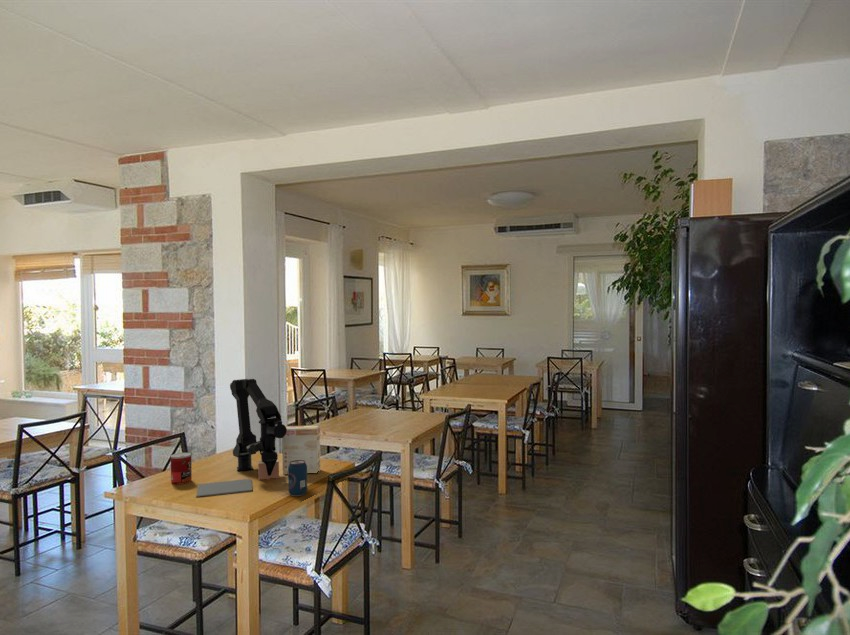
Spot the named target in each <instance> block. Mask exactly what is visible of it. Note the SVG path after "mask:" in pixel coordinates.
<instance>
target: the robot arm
mask: <svg viewBox="0 0 850 635" xmlns="http://www.w3.org/2000/svg"><path fill="white" fill-rule="evenodd" d="M229 388H230V391H231V395H232V397H233V398H234V399H235V402H236V410H237V422H238V432H239V433H238V435H237V437H236V438H235V439H236V440H235V441H236V443H235V446H234V448H233V449H232V456H233V457H235V458H237V466H236V472H243V471H252V470H253V465H252V456H253V455H256V454H257V452H259V454H260V458H261V461H262V462H264V463H265V464H266V469H267V473H268V476H270V475H271V473H272V471H273V468H274V466H275V463H276V461H277V460H279V459H278V452H277V448H276V440H277V439H282V438H283V437H284V436H285V435H286V432H287V429H286V425H285V424H283V421H282V415H281V413H280V412H279V409H278V407H277V405H276V404H275V403H274V402H273V401H272V400H269V399H268V398H267V397H266V396H265V395H264V393H263V391H262V389H261V388H260V386H259V385H258V383H257V380H256V379H255V378H244V379H243V378H242V379H241V378H239V379H233V380H232V381H231V382H230V384H229ZM249 397H250V398H251V400H252V401H253V402H254V404H255V406H256V410H255V412H256V415H257V417H258V418H259V420H258V424H260V437H259V441H257V435H256V434H254V433H253V431H252V428H251V418H250V408H249Z"/></svg>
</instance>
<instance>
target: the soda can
mask: <svg viewBox="0 0 850 635" xmlns="http://www.w3.org/2000/svg"><path fill="white" fill-rule="evenodd" d="M287 475H288V477H287V480H288V481H287V482H288V483H287V484H288V489H287V490H288V493H289V495H290V496H291V497H292V496H293V497H301V496H304V495H305V494H307V491H308V474H307V465H306V463H305V461H304V460H295V461H291V462H290V464H289V466H288V474H287Z"/></svg>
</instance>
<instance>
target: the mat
mask: <svg viewBox="0 0 850 635" xmlns="http://www.w3.org/2000/svg"><path fill="white" fill-rule="evenodd" d="M253 490H254V489H253V483H252V478H242V479H234V480H226V481H225V480H224V481H217V482H216V481H215V482H208V483H207V482H206V483H198V486H197V490H196V491H197V492H196V496H195V498H201V497H200V496H205V497H211V496H210V495H214V496H219V495H220V496H222V494H223V495H231V494H230V493H232V494H239V492H241V493H247V491H250V492H253Z"/></svg>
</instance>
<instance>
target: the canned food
mask: <svg viewBox="0 0 850 635" xmlns="http://www.w3.org/2000/svg"><path fill="white" fill-rule="evenodd" d="M192 479H193V478H192V454H191V452H178V453H177V452H176V453H173V454H171V455H170V482H171V484H173V483H184V484H186V483H185V482H188V483H190V482H192ZM189 481H190V482H189Z"/></svg>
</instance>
